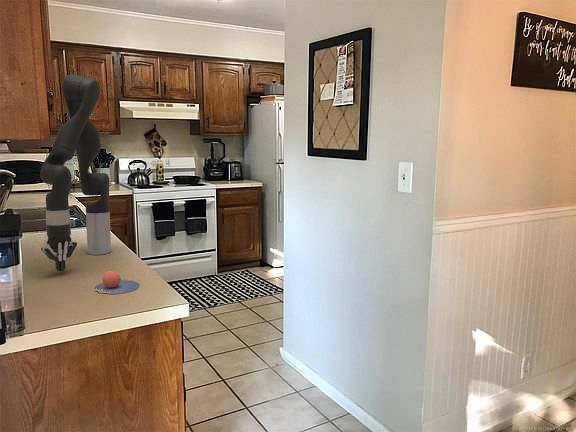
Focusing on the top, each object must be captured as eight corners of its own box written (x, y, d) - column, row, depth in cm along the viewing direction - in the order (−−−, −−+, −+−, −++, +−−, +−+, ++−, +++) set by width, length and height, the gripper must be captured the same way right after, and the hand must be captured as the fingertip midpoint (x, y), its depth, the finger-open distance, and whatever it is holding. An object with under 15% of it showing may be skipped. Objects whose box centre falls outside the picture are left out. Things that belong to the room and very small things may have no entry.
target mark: (95, 282, 161) (95, 281, 161) (139, 279, 165) (139, 279, 165) (92, 296, 147) (92, 295, 147) (140, 292, 152) (140, 291, 152)
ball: (121, 278, 153) (116, 293, 154) (123, 270, 158) (119, 284, 159) (103, 274, 151) (98, 289, 153) (106, 266, 156) (102, 280, 158)
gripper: (47, 226, 157) (50, 277, 160) (82, 220, 168) (84, 268, 171) (33, 224, 161) (36, 273, 164) (68, 218, 172) (70, 264, 175)
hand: (61, 270), depth 168 cm, fingers closed
